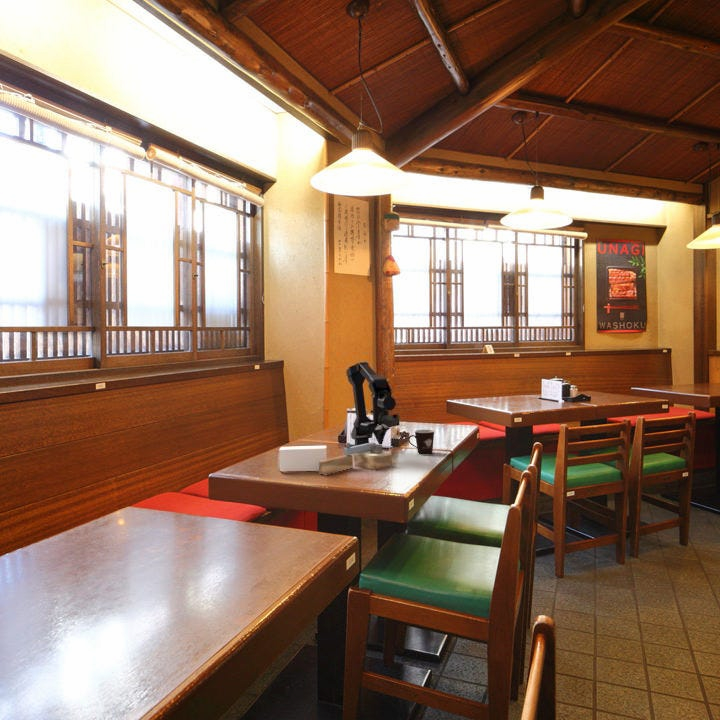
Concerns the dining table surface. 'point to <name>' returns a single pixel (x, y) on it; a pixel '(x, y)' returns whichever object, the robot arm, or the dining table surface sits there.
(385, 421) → the robot arm
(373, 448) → the lid
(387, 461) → the toolbox
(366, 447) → the block
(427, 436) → the coffee mug
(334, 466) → the tan rectangular bar
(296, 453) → the white rectangular block
